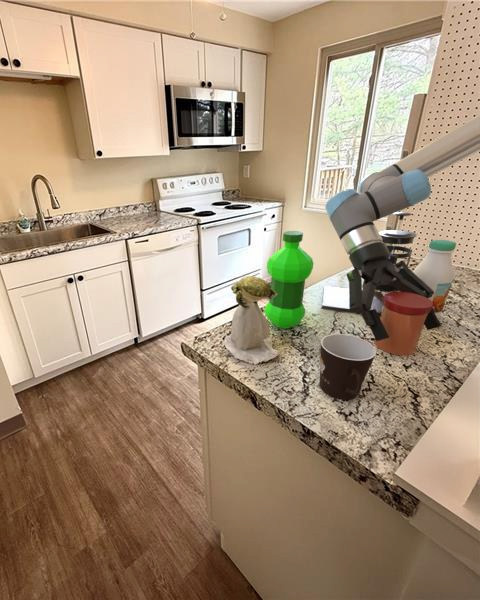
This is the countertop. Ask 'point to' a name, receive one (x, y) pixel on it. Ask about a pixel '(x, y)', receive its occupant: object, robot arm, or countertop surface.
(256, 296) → the turtle figurine
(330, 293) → the board
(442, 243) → the milk bottle
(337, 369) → the coffee mug
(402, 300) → the lid
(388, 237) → the french press
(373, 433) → the countertop surface
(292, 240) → the plastic bottle
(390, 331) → the jar
